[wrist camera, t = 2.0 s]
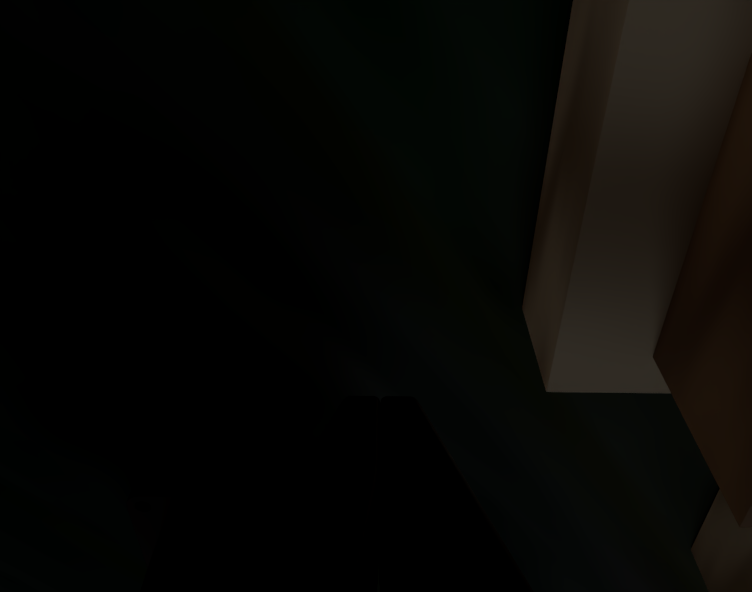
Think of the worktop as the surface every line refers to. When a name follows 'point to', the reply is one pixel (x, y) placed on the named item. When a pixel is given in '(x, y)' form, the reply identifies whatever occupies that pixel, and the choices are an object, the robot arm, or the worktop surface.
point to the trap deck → (633, 205)
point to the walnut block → (718, 318)
